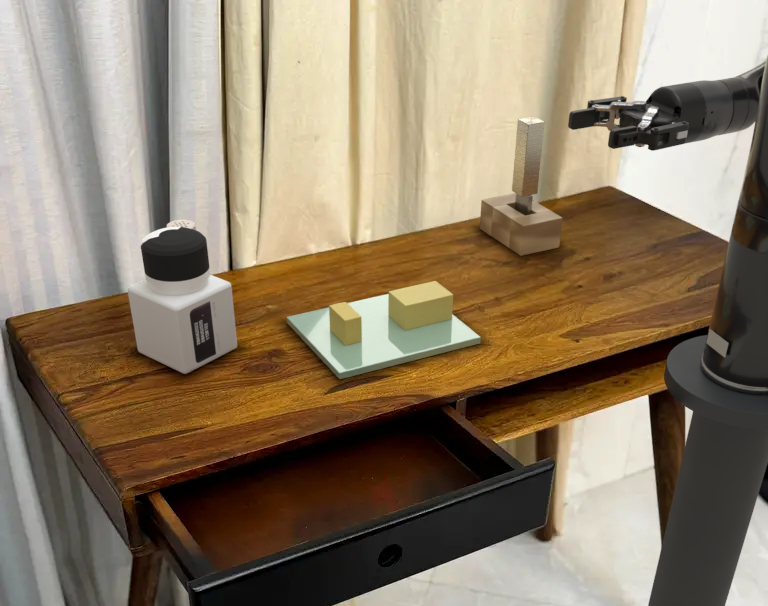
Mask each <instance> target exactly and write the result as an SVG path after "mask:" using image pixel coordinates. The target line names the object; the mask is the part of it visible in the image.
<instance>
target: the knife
mask: <svg viewBox="0 0 768 606" xmlns="http://www.w3.org/2000/svg"><path fill="white" fill-rule="evenodd" d="M544 130H545V121H544V120H542V119H540V118H538V117H536V116H529V117H523V118H517V125H516V136H515V147H514V148H515V150H514V159H513V160H514V161H513V170H512V172H513V173H512V185H511V192H513V193H516V199H515V210H516V211H518V212H520V213H521V214H523V215H525V216H526V215H531V210H532V200H533V197H534V196H533V195H537V194H538V190H539V183H540V182H539V181H540V173H541V172H540V171H541V161H542V160H541V159H542V150H543V141H544V140H543V139H544Z"/></svg>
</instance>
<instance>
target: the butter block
mask: <svg viewBox="0 0 768 606" xmlns="http://www.w3.org/2000/svg"><path fill="white" fill-rule="evenodd" d="M388 294H389V302H388V316H389V317H390V318H392V319H393V320H394V321H395V322H396V323H397V324H398V325H399V326H401V327H402V328H403V329H404V330H409V329H414V328H418V327H422V326H426V325H430V324H434V323H438V322H442V321H446V320H450V319H452V314H453V308H454V307H453V306H454V294H453V293H452V292H451V291H449V290H448V289H447V288H445V286H443V285H442V284H440V283H439V282H438V281H436V280H433V281H427V282H424V283H419V284H415V285H409V286H406V287H402V288H401V287H400V288H397V289H392V290H388Z"/></svg>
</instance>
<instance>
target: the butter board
mask: <svg viewBox="0 0 768 606" xmlns="http://www.w3.org/2000/svg"><path fill="white" fill-rule="evenodd" d="M388 302H389V293H386V294H381V295H376V296H372V297H368V298H363V299H360V300H356V301H350V302H346V303H347V304H348V305H350V306H351V307H352V308H353V309H354V310H355V311H356V312H357V313H358V314H359V315H360V316H361V317H362V342H358V343H354V344H350V345H344V344H343V343H342V342H341V341H340V340H339V339H338V338H337V337H336V336H335V335H334V334H333V333H332V332H331V331H330V317H329V306H328V307H324V308H319V309H315V310H311V311H306V312H302V313H298V314H293V315H289V316H286V324H287V325H288V326H289V327H290V328H291V329H292V330H293V331H294V332H295V334H296V335H297V336H298V337H299V338H300V339H301V340H302V341H303V342H304V343H305V344H306V345H307V346H308V347H309V349H311V351H312V352H313V353H314V354H315V355H316V356H317V357H318V358H319V359H320V360H321V362H323V364H324V365H326V367H327V368H328V369H329V370H330V371H331V372H332V373H333V374H334V375H335V377H336V378H338V379H339V380H343V379H347V378H351V377H355V376H359V375H362V374H366V373H370V372H374V371H379V370H382V369H385V368H390V367H394V366H398V365H401V364H405V363H409V362H413V361H416V360H422V359H426V358H429V357H433V356H437V355H441V354H445V353H448V352H452V351H457V350H459V349H464V348H467V347H471V346H476V345H480V344H481V341H482V337H481V336H480V335H479V334H477V332H475V331H474V330H473V329H471V328H470V327H469V326H468V325H467V324H465V323H464V322H463V321H462V320H461V319H459V318H458V317H457V316H456V315H454V314H453V313H452V319H450V320H446V321H442V322H438V323H434V324H430V325H426V326H422V327H418V328H414V329H409V330H404V329H403V328H402V327H401V326H399V325H398V324H397V323H396V322H395V321H394V320H393V319H392V318H390V317H389V316H388Z"/></svg>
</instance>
